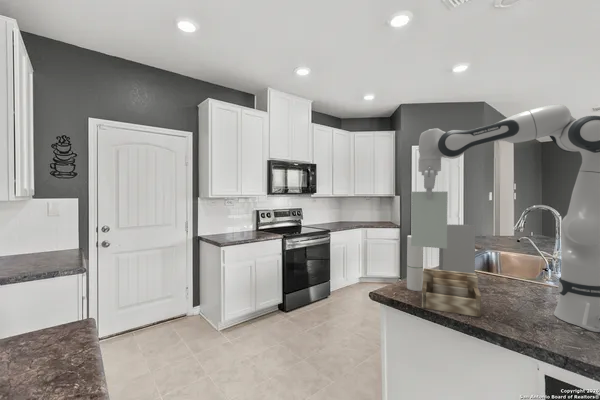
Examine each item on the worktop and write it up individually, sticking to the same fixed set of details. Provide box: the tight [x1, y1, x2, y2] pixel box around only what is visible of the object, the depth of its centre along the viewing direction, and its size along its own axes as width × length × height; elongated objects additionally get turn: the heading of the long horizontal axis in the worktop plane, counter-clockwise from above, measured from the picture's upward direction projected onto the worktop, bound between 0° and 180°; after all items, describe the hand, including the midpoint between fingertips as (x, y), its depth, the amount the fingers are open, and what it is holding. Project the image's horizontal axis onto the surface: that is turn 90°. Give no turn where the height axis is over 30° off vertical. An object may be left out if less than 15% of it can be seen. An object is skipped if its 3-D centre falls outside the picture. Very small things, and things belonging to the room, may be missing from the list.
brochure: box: [438, 224, 476, 274], centre depth 136 cm, size 14×6×30 cm, turn 84°
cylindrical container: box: [406, 234, 424, 292], centre depth 134 cm, size 7×7×25 cm
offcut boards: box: [433, 271, 468, 298], centre depth 113 cm, size 12×6×13 cm, turn 64°
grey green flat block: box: [410, 191, 449, 249], centre depth 121 cm, size 14×2×24 cm, turn 64°
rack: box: [421, 267, 482, 318], centre depth 115 cm, size 20×16×12 cm
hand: (429, 199), depth 121 cm, fingers closed on grey green flat block, 2 cm apart
